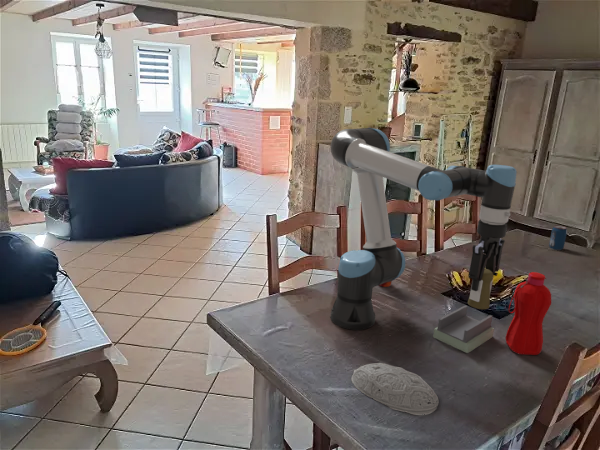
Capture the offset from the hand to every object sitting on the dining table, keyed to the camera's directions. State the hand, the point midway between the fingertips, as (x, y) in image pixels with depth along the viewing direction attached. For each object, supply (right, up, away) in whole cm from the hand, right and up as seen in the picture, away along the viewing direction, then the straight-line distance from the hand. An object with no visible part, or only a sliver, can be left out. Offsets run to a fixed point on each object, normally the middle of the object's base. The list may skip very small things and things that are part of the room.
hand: (479, 297), depth 132 cm
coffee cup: (-18, -3, +53) cm, 56 cm away
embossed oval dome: (-28, -23, -13) cm, 38 cm away
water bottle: (+16, -17, +9) cm, 25 cm away
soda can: (+83, +9, +108) cm, 136 cm away
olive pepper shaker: (0, -2, +1) cm, 2 cm away
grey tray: (0, -15, +14) cm, 21 cm away
